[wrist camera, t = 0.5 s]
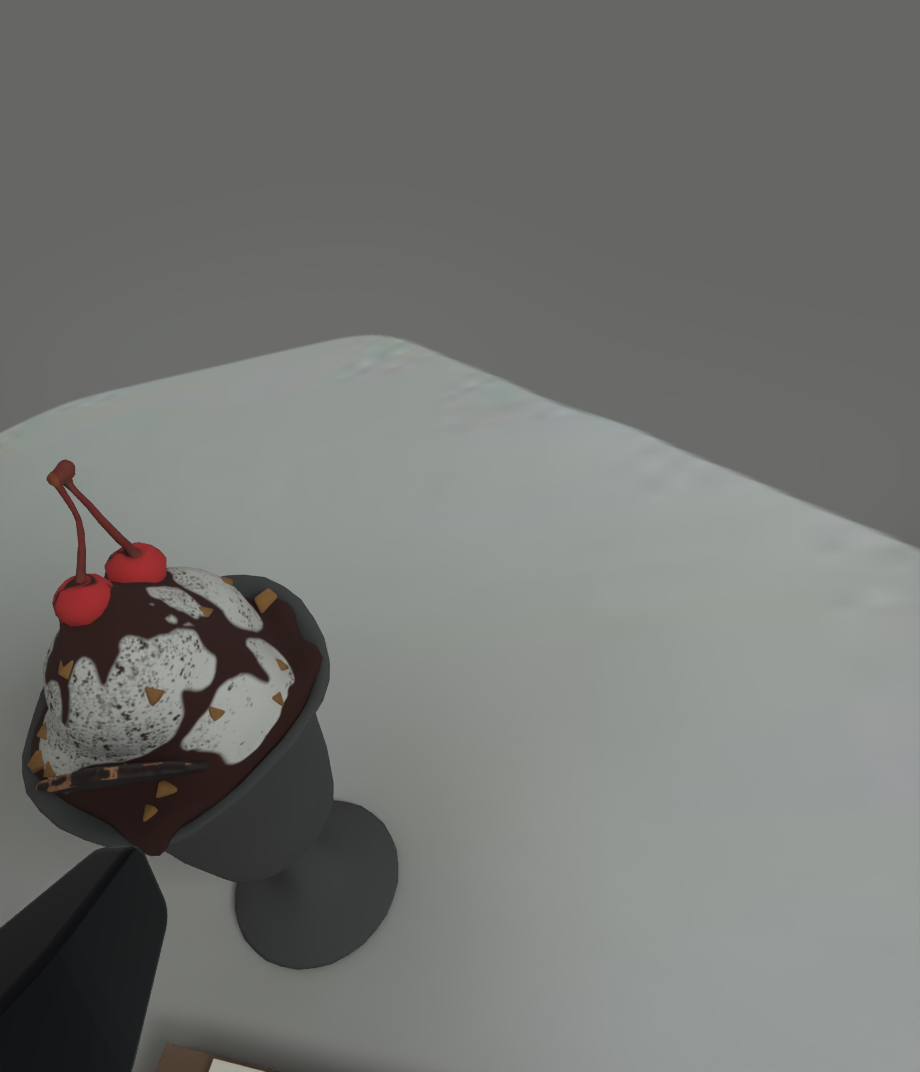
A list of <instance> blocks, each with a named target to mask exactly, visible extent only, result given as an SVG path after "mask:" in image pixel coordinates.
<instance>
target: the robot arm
mask: <svg viewBox="0 0 920 1072" xmlns="http://www.w3.org/2000/svg"><path fill="white" fill-rule="evenodd" d="M166 926H167V907H166V902H165V899H164V897H163V894H162V892H161V890H160V888H159V885H158V883H157V881H156V879H155V876H154V874H153V872H152V870H151V867H150V865H149V863H148V861H147V858H146V856H145V854H144V852H143V851H142V850H141V849H140V848H138V847H137V846H132V845H129V846H117V847H104V848H101V849H98V850H95V851H94V852H92V853H91V854H90V855H88V856H87V857H86V858H85V859H84V860H82V861H81V862H80V863H79V864H77V865H76V866H75V867H74V868H73V869H71V870H70V871H69V872H68V873H67V874H65V875H64V876H63V877H62V878H60V879H59V880H58V881H57V882H56V883H54V884H53V885H52V886H51V887H50V888H48V889H47V890H46V891H45V892H43V893H42V894H41V895H40V896H39V897H37V898H36V899H35V900H34V901H32V902H31V903H30V904H29V905H28V906H26V907H25V908H24V909H23V910H22V911H20V912H19V913H18V914H17V915H15V916H14V917H13V918H12V919H11V920H9V921H8V922H7V923H6V924H5V925H3V926H2V927H1V928H0V1072H132V1069H133V1065H134V1061H135V1057H136V1053H137V1049H138V1045H139V1041H140V1036H141V1032H142V1028H143V1024H144V1020H145V1015H146V1011H147V1007H148V1003H149V999H150V994H151V990H152V986H153V982H154V977H155V973H156V969H157V965H158V961H159V956H160V952H161V948H162V944H163V940H164V935H165V931H166Z"/></svg>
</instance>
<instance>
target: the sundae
mask: <svg viewBox="0 0 920 1072" xmlns="http://www.w3.org/2000/svg"><path fill="white" fill-rule="evenodd" d="M74 475H75V465H74V464H73V463H72V462H71V461H68V460H62V461H61V462H59V463H58V465H57V466H56V468H55V469H54V470H53V471H52V472H51V473H50V474H49V475H48V476H47V481H48V483H49V484H50V485H52V486H54V487H55V488H56V489H57V491H58V492H59V494H60V495H61V496H62V498H63V499H64V501H65V502H66V504H67V505H68V507H69V508H70V510H71V511H72V513H73V516H74V518H75V520H76V526H77V536H78V553H77V570H76V576H73V577H71V578H69V579H67V580H66V581H65V582H64V583H63V584H62V585H61V586H60V587H59V588H58V590H57V591H56V593H55V594H54V598H53V603H52V604H53V607H54V611H55V614H56V616H57V617H58V618H59V621H60V630H59V631H58V633H57V634H56V636H55V638H54V639H53V641H52V643H51V645H50V647H49V650H48V653H47V656H46V659H45V662H44V669H43V671H44V688H43V690H42V692H41V694H40V697H39V700H38V703H37V706H36V709H35V712H34V715H33V718H32V722H31V725H30V728H29V732H28V735H27V739H26V743H25V747H24V751H23V755H22V774H23V779H24V783H25V788H26V793H27V795H28V796H29V797H30V799H31V800H32V801H33V803H34V804H35V805H36V807H37V808H38V809H39V811H40V812H41V813H42V814H44V815H45V816H46V817H47V818H48V819H49V820H50V821H51V822H53V823H54V824H55V825H56V826H57V827H58V828H59V829H62V830H64V831H66V832H68V833H71V834H73V835H75V836H77V837H79V838H82V839H84V840H86V841H89V842H93V843H96V844H99V845H102V846H105V847H117V846H129V845H132V846H137V847H138V848H140V849H141V850H142V851H143V852H144V853H145V854H147V855H150V856H160V855H161V854H162V853H163V852H164V851H166V852H167V853H169V854H171V855H172V856H174V857H175V858H177V859H179V860H180V861H182V862H184V863H185V864H188V865H190V866H193V867H196V868H198V869H201V870H203V871H206V872H208V873H211V874H213V875H216V876H218V877H221V878H223V879H226V880H229V881H233V882H237V888H236V904H235V910H236V914H237V918H238V922H239V926H240V928H241V931H242V933H243V936H244V938H245V940H246V941H247V942H248V943H249V945H250V946H251V947H252V948H253V949H254V950H255V951H256V952H257V953H258V954H259V955H260V956H262V957H263V958H264V959H265V960H266V961H269V962H271V963H274V964H277V965H279V966H282V967H287V968H292V969H296V970H299V969H309V968H316V967H321V966H325V965H329V964H332V963H334V962H336V961H338V960H340V959H341V958H343V957H345V956H347V955H349V954H350V953H351V952H353V951H354V950H356V949H357V948H359V947H360V946H361V945H363V944H364V943H365V942H366V940H367V939H368V938H369V937H370V936H371V935H372V934H373V933H374V931H375V930H376V929H377V927H378V926H379V925H380V923H381V922H382V920H383V919H384V918H385V916H386V915H387V912H388V910H389V907H390V905H391V902H392V900H393V897H394V893H395V890H396V886H397V883H398V860H397V850H396V847H395V845H394V842H393V840H392V838H391V835H390V834H389V832H388V830H387V829H386V827H385V825H384V823H383V822H381V821H380V820H379V819H378V818H377V817H376V816H375V815H374V814H372V813H371V812H369V811H368V810H366V809H365V808H363V807H362V806H359V805H355V804H352V803H348V802H342V801H335V800H333V778H332V772H331V767H330V761H329V756H328V751H327V746H326V743H325V740H324V737H323V734H322V731H321V728H320V725H319V722H318V719H317V716H316V711H317V710H318V708H319V706H320V705H321V703H322V701H323V699H324V696H325V693H326V690H327V686H328V683H329V677H330V662H329V656H328V652H327V648H326V643H325V639H324V636H323V634H322V632H321V630H320V629H319V627H318V625H317V623H316V621H315V619H314V617H313V616H312V614H311V613H310V612H309V610H308V609H307V607H306V606H305V604H304V603H303V602H302V600H301V599H300V598H299V597H297V596H296V595H295V594H293V593H292V592H291V591H289V590H288V589H287V588H285V587H284V586H282V585H280V584H278V583H276V582H274V581H272V580H270V579H268V578H265V577H259V576H250V575H228V576H222V577H219V576H217V575H215V574H213V573H210V572H208V571H205V570H201V569H196V568H189V567H170V568H166V557H165V556H164V554H163V553H162V552H161V551H160V550H159V549H157V548H156V547H154V546H152V545H149V544H145V543H140V542H137V543H133V544H132V543H131V542H129V541H128V540H127V539H126V538H125V537H124V536H123V535H122V534H121V533H120V532H119V531H118V530H117V529H116V528H115V527H114V526H113V525H112V524H111V523H110V522H109V521H108V520H107V519H106V518H105V517H104V516H103V515H102V514H101V513H100V512H99V510H98V509H97V508H96V507H95V506H94V505H93V504H92V503H91V502H90V501H89V500H88V499H87V498H86V497H85V496H84V495H83V494H82V493H81V492H80V491H79V490H78V489H77V488H76V487H75V485H74V484H73V480H72V478H73V477H74ZM63 485H64V486H65V487H66V488H67V489H69V490H70V491H71V492H72V493H73V494H74V495H75V496H76V497H77V498H78V499H79V500H80V501H81V502H82V504H83V505H84V506H85V507H86V508H87V509H88V510H89V511H90V513H91V514H92V515H93V516H94V518H95V519H96V520H97V521H98V523H99V524H100V525H101V526H102V527H103V528H104V529H105V530H106V531H107V532H108V534H109V535H110V536H111V537H112V538H113V539H114V540H115V541H116V542H117V543H118V544H119V545H120V546H122V548H120V549H119V550H117V551H116V552H114V553H113V554H111V555H110V557H109V559H108V560H107V562H106V564H105V570H106V572H105V577H102V576H100V575H97V574H86V546H85V533H84V528H83V524H82V520H81V517H80V515H79V513H78V511H77V509H76V507H75V505H74V503H73V501H72V500H71V498H70V496H69V495H68V493H67V492H66V490H65V488H64V487H63Z"/></svg>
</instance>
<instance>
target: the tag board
mask: <svg viewBox="0 0 920 1072" xmlns="http://www.w3.org/2000/svg"><path fill="white" fill-rule="evenodd" d="M156 1072H279V1071H275V1070H271V1069H267V1068H263V1067H259V1066H255V1065H251V1064H248V1063H244V1062H240V1061H236V1060H232V1059H228V1058H224V1057H220V1056H216V1055H212V1054H208V1053H204V1052H201V1051H197V1050H193V1049H189V1048H185V1047H181V1046H177V1045H173V1044H169V1043H167V1045H166V1048H165V1050H164V1053H163V1055H162V1058H161V1060H160V1063H159V1065H158V1068H157V1070H156Z"/></svg>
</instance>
